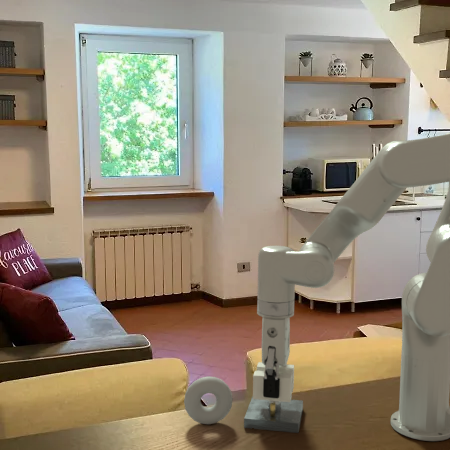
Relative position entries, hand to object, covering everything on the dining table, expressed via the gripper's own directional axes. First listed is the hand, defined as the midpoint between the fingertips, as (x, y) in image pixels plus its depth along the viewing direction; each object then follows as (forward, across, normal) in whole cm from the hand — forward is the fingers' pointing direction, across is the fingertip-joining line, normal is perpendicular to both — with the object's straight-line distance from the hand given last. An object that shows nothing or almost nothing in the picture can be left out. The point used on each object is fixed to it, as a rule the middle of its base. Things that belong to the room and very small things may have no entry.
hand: (273, 388), depth 131 cm
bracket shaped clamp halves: (+1, 0, 0) cm, 1 cm away
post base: (+6, 0, 0) cm, 6 cm away
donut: (+7, -5, +13) cm, 15 cm away
